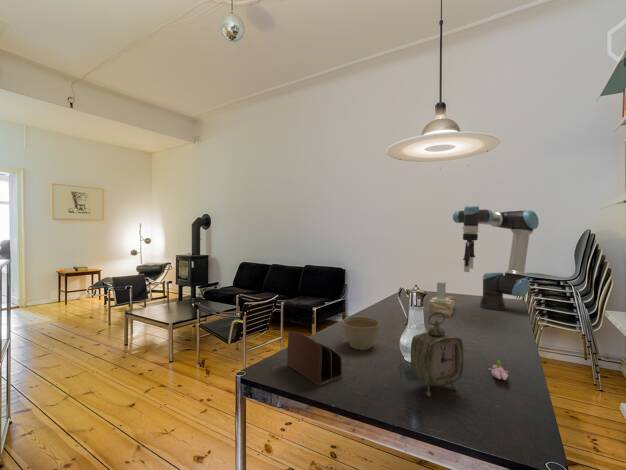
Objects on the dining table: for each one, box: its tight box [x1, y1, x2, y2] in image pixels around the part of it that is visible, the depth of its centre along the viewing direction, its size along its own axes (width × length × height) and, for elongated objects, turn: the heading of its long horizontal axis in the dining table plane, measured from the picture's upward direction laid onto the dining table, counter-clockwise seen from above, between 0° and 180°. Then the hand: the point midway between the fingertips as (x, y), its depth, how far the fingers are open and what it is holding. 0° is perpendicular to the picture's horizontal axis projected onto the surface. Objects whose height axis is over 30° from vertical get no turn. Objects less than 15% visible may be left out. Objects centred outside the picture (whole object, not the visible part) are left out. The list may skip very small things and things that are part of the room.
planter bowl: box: [342, 316, 381, 351], centre depth 140 cm, size 16×16×11 cm
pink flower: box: [488, 359, 509, 381], centre depth 111 cm, size 6×6×15 cm
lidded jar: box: [445, 294, 455, 307], centre depth 207 cm, size 11×11×9 cm
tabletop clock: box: [410, 312, 464, 397], centre depth 102 cm, size 14×9×25 cm, turn 114°
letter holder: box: [286, 330, 343, 386], centre depth 115 cm, size 10×20×14 cm, turn 38°
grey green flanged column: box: [433, 281, 449, 303], centre depth 195 cm, size 8×8×14 cm
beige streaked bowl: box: [428, 297, 454, 318], centre depth 195 cm, size 12×12×8 cm
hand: (468, 270), depth 183 cm, fingers open, 13 cm apart
